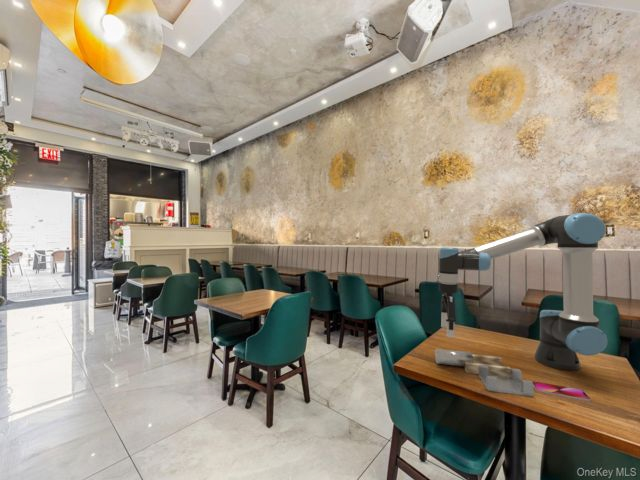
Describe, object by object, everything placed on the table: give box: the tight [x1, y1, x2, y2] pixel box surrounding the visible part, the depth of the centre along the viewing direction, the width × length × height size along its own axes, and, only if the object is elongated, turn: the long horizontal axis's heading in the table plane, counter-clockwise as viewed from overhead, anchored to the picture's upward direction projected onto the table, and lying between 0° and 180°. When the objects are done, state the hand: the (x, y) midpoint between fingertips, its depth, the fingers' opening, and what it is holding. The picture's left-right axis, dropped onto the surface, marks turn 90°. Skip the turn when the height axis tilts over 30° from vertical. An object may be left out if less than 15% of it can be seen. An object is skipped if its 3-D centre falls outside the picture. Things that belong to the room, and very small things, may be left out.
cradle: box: [478, 365, 534, 398], centre depth 102 cm, size 14×11×4 cm
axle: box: [434, 348, 473, 368], centre depth 119 cm, size 14×6×6 cm, turn 75°
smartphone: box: [531, 381, 591, 402], centre depth 98 cm, size 7×1×15 cm
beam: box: [462, 353, 511, 377], centre depth 115 cm, size 16×12×4 cm
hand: (447, 331), depth 119 cm, fingers open, 13 cm apart
